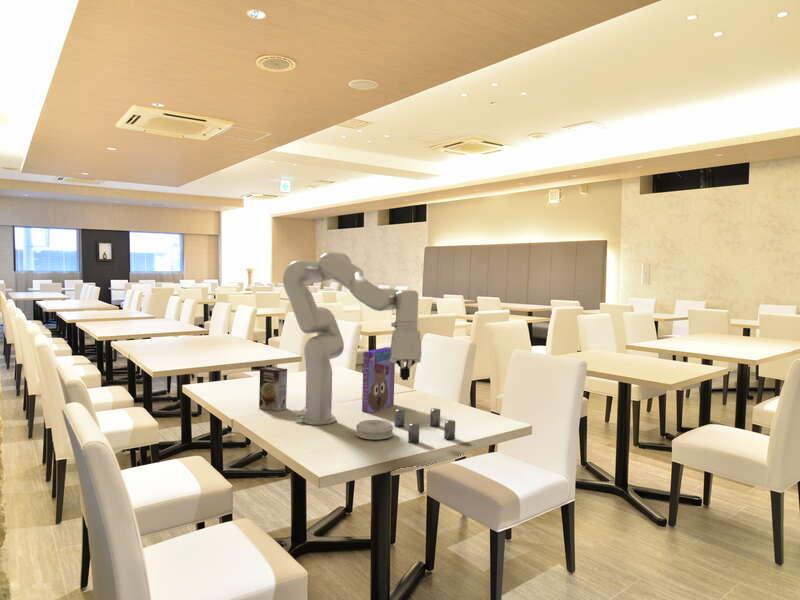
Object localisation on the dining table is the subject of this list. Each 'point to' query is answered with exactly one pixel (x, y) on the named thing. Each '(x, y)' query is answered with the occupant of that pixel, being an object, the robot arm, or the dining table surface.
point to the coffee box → (273, 388)
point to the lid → (374, 429)
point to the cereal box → (377, 380)
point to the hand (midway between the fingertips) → (404, 379)
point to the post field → (414, 427)
